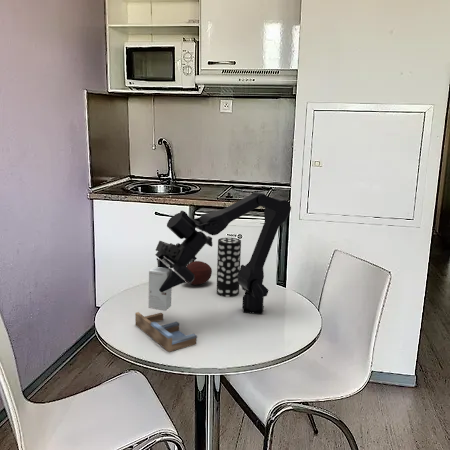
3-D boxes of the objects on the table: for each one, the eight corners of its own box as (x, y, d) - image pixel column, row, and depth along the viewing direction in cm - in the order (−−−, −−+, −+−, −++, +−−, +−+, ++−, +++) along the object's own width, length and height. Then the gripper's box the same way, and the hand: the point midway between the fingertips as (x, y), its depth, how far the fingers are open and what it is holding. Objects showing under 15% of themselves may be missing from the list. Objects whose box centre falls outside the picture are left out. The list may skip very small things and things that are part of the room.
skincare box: (147, 308, 148) (147, 270, 145) (154, 303, 152) (153, 266, 150) (166, 311, 146) (166, 273, 144) (172, 305, 151) (172, 268, 148)
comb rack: (134, 324, 152) (134, 310, 151) (161, 318, 157) (161, 304, 156) (168, 352, 136) (168, 336, 135) (196, 343, 141) (197, 328, 140)
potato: (215, 286, 188) (216, 262, 186) (186, 290, 183) (187, 266, 181) (206, 278, 196) (206, 256, 193) (178, 282, 190) (178, 259, 188)
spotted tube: (239, 297, 177) (241, 244, 173) (216, 296, 177) (217, 243, 173) (238, 289, 185) (240, 238, 181) (216, 288, 186) (218, 237, 181)
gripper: (161, 224, 154) (127, 262, 151) (184, 239, 138) (147, 282, 135) (184, 246, 159) (152, 283, 157) (209, 262, 143) (174, 304, 141)
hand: (155, 287), depth 147 cm, fingers closed on skincare box, 7 cm apart
